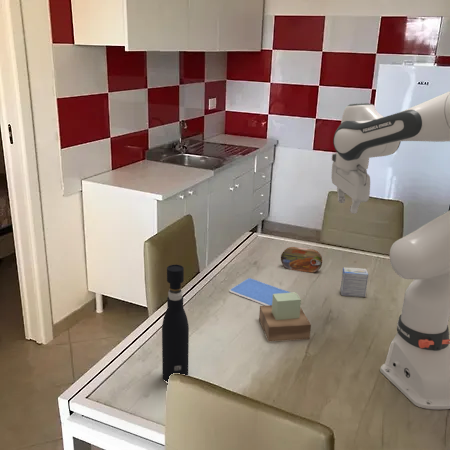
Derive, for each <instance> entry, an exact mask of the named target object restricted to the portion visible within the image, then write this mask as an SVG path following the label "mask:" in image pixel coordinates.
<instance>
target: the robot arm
mask: <svg viewBox="0 0 450 450" xmlns="http://www.w3.org/2000/svg"><path fill="white" fill-rule="evenodd" d="M332 140H333V141H332V144H333V147H334V149H335V152H334V153H331V161H332V165H331V166H332V167H331V183H332V184H333V185H335V187H336V192H337V202H339V203H340V204H345V203H346V196H345V195H347V196H348V197H349V198H351V202H352V203H351V205H349V212H350V213H351V214H356V215H357V213H358V212H359V211H358V210H359V207H360V205H361V204H362V203H367V202H368V201H369V199H370V194H371V193H370V192H371V176H370V175H369V174H368V172H367V171H368V169H369V162H370V158H371V159H372V158H378V157H379V158H380V157H386V156H390V155H391V156H392V155H393V154H395V153H396V152H397V151H398V149H399V148H400V146H401V142H434V143H435V142H440V143H442V142H446V143H447V142H450V90H449V91H446V92H445V93H443V94H440V95H437V96H435V97H433V98H430V99H428V100H426V101H424V102H421V103H419V104H416V105H414V106H411V107H409V108H406V109H404V110H402V111H399V112H396V113H392V114H390V115H387V116H383V115H382V114H380V112H378V111H377V109H376V107H375V105H374V104H373V103H368V102H365V103H362V102H361V103H350V104H348V105H347V106H345V108H344V110H343V114H342V117H341V122H340V124H339V125H338V127H337V129H336V130H335V132H334V135H333V139H332ZM388 256H389V262H390V265H391V267H392V270H393V271H394V272H395V274H396V275H398V276H399V277H401V279H404V280H413V281H411V283H410V284H409V285H408V286H407V288H406V290H405V293H404V297H403V302H402V308H401V314H400V315H399V317H398V320H397V323H396V324H397V325H396V334H395V335H394V338H393V339H392V340H391V343H389V344H390V345H389V348H388V351H387V355H386V357H385V358H386V359H385V362H384V363H383V364H382V365H381V366H380V369H379V371H380V373H381V374H382V375H383V376H384V377H385V378H387V380H389V381H390V382H391V384H393V385H394V386H395V388H396V389H398V390H399V391H400V392H401V393H402V394H403V395H404V397H406V398H408V400H409V401H410V402H411V403H412V404H413V405H414V406H416V407H419V408H423V409H427V410H449V409H450V346H449V345H450V331H449V330H450V329H449V325H448V324H449V320H450V210H448V211H446V212H445V213H443V214H441V215H438V217H435V218H434V219H432V220H430V221H429V222H426V223H425V224H423V225H421V226H420V227H418V228H417V229H416V230H414V231H412V232H411V233H409V234H407V235H405V236H403V237H401V238H399V239H397V240H396V241H394V242H393V243H392V245H391V246H390V250H389V255H388Z"/></svg>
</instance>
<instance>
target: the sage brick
mask: <svg viewBox="0 0 450 450" xmlns="http://www.w3.org/2000/svg"><path fill="white" fill-rule="evenodd" d="M301 305H302V299H301V297H300V296H299V294H298V293H297V292H293V291H291V293H279V294H273V299H272V314H273V316H274V317H275V319H276V320H283V319H294V318H300V307H302V306H301Z"/></svg>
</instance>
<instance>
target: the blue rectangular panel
mask: <svg viewBox="0 0 450 450" xmlns="http://www.w3.org/2000/svg"><path fill="white" fill-rule="evenodd" d="M228 292H229V293H231V294H234V295H237V296H240V297H242V298H245V299H247V300H249V301H252V302H255V303H258V304H260V305H261V306H268V305H272V299H273V294H279V293H292V291H288V290H285V289H282V288H279V287H276V286H274V285H270V284H267V283H266V282H262V281H260V280H257V279H254V278H251V277H248V278H246V279H245V280H242V281H241V282H240V283H238V284H237V285H235V286H233V287H232V288H230V289H229V290H228Z"/></svg>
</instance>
